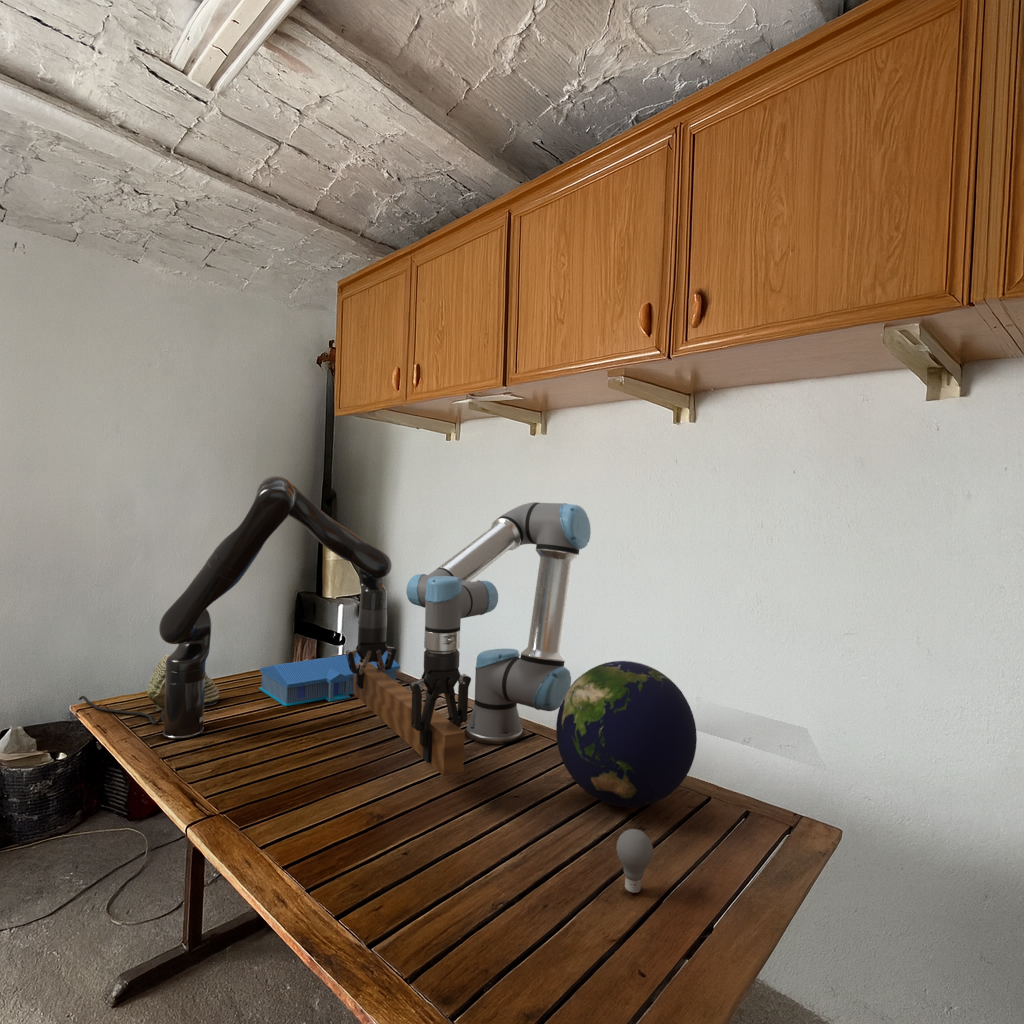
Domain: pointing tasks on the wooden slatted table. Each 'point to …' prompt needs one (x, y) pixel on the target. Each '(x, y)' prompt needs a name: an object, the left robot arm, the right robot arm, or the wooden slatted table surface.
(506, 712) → the right robot arm
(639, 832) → the light bulb
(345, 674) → the model building
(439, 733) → the post
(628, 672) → the globe
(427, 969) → the wooden slatted table surface
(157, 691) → the fossil
